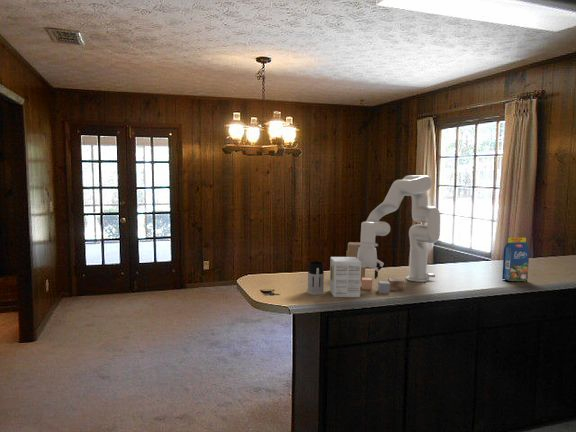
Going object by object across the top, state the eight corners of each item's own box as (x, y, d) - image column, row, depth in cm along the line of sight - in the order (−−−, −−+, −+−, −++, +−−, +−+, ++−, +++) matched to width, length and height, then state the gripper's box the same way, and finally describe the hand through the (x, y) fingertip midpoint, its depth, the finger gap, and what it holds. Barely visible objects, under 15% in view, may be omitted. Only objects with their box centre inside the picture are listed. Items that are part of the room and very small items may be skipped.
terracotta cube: (370, 287, 237) (371, 277, 237) (371, 289, 232) (372, 280, 232) (361, 286, 237) (361, 277, 237) (362, 289, 232) (362, 279, 232)
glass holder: (323, 290, 228) (323, 261, 227) (326, 297, 214) (327, 266, 213) (306, 290, 228) (306, 260, 227) (308, 297, 214) (308, 266, 213)
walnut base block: (401, 287, 238) (401, 278, 237) (403, 290, 231) (403, 281, 230) (387, 287, 238) (388, 277, 238) (389, 290, 231) (389, 280, 231)
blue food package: (527, 281, 256) (530, 238, 254) (509, 282, 254) (512, 238, 252) (519, 279, 263) (522, 236, 261) (501, 280, 260) (504, 237, 258)
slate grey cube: (388, 291, 229) (388, 281, 229) (389, 293, 224) (389, 283, 224) (378, 290, 230) (378, 281, 229) (379, 293, 225) (379, 283, 224)
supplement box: (329, 290, 228) (329, 256, 227) (354, 290, 229) (355, 256, 227) (333, 297, 215) (334, 261, 213) (360, 297, 216) (361, 261, 214)
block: (363, 276, 264) (364, 242, 263) (365, 279, 254) (366, 244, 253) (346, 275, 265) (347, 241, 264) (347, 279, 255) (348, 244, 254)
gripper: (383, 245, 236) (382, 277, 237) (350, 243, 237) (349, 275, 238) (385, 247, 228) (383, 280, 229) (351, 245, 230) (349, 278, 231)
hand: (366, 278), depth 234 cm, fingers open, 9 cm apart
